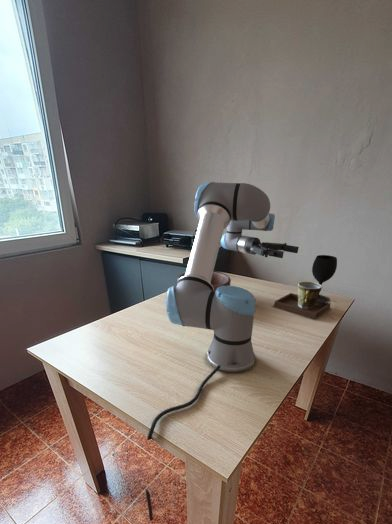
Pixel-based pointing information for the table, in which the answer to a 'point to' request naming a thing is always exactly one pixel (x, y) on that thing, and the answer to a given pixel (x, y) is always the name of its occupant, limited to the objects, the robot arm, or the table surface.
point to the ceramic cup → (308, 294)
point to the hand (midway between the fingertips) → (290, 252)
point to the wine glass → (324, 270)
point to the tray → (291, 305)
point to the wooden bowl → (216, 280)
